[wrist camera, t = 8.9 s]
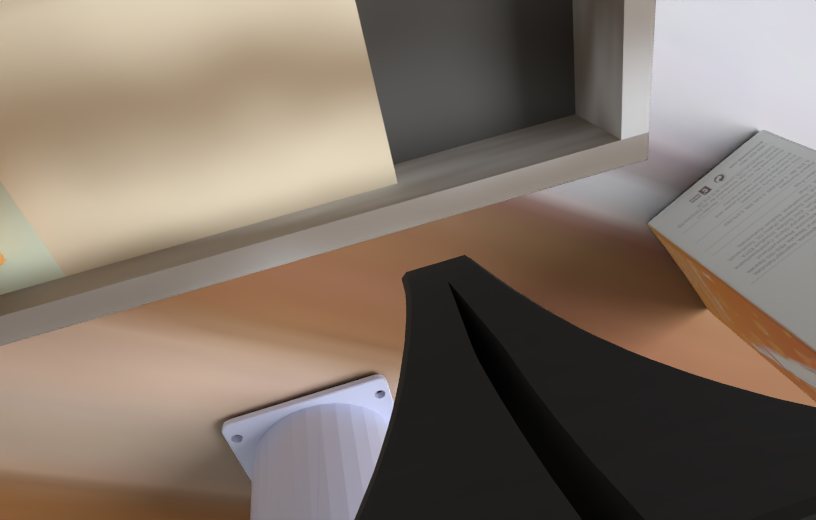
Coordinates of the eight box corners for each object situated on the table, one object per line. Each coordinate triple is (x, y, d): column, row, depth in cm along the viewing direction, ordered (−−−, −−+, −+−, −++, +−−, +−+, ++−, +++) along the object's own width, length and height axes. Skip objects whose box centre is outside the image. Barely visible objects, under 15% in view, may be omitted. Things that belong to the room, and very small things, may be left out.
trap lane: (595, 129, 21) (647, 159, 18) (-355, 396, 18) (-474, 482, 16) (594, -189, 16) (667, -220, 13) (-749, 126, 13) (-1045, 178, 10)
